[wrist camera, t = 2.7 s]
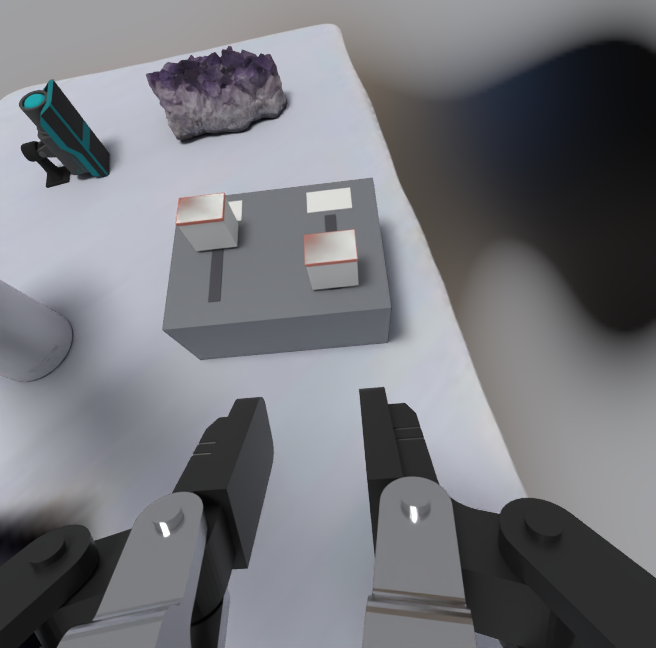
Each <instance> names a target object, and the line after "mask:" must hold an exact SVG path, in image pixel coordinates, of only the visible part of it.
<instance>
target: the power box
mask: <svg viewBox="0 0 656 648" xmlns="http://www.w3.org/2000/svg"><path fill="white" fill-rule="evenodd" d="M226 199H227V201H228V203H229V205H230V207H231V209H232V211H233V213H234V215H235V217H236V219H237V222H238V242H237V247H229V248H220V249H211V250H202V251H196V250H195V249H194V248H193V246H192V245H191V243H190V242H189V241H188V239H187V238H186V236H185V235H184V234H183V232H182V231H181V229H180V228H179V227H177V225H176V229H175V236H174V244H173V251H172V259H171V267H170V274H169V282H168V290H167V297H166V305H165V313H164V320H163V328H162V330H163V331H164V332H166V333H167V334H168V335H169V336H171V337H172V338H173V339H174V340H176V341H177V342H178V343H179V344H181V345H182V346H183V347H184V348H186V349H187V350H188V351H190V352H191V353H192V354H193V355H195V356H196V357H197V358H198V359H200V360H203V359H214V358H225V357H236V356H247V355H258V354H269V353H280V352H291V351H302V350H313V349H324V348H335V347H346V346H357V345H368V344H379V343H387V342H388V333H389V324H390V315H391V302H390V295H389V288H388V281H387V274H386V267H385V260H384V252H383V245H382V238H381V231H380V224H379V217H378V210H377V203H376V196H375V189H374V182H373V178H366V179H358V180H349V181H341V182H333V183H324V184H316V185H308V186H299V187H291V188H283V189H275V190H266V191H258V192H250V193H241V194H233V195H226ZM352 229H355V239H356V248H357V257H358V262H357V267H358V284H359V285H355V286H346V287H336V288H326V289H316V290H312V286H311V283H310V279H309V275H308V272H307V268H306V267H305V259H304V235H307V234H316V233H325V232H334V231H343V230H352Z"/></svg>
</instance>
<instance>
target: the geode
mask: <svg viewBox="0 0 656 648" xmlns="http://www.w3.org/2000/svg"><path fill="white" fill-rule="evenodd" d="M146 77H147V79H148V82H149V86H150V87H151V88H152V90H153V92H154V94H155V95H156V96H157V97H158V98H159V100H160V105H161V106H162V107H163V108H164V109H165V112H166V118H167V119H168V125H169V127H170V128H171V130H172V131H173V133H174V135H175V136H176V138H177V139H178V140H182V139H189V138H192V137H194V136H196V135H201V134H204V133H216V134H218V133H223V132H242V131H244V130H245V129H247V128H248V127H249V126H250V125H251V122H254V121H257V120H259V119H262V118H278V117H279V116H280V114H281V113H282V112H283V111H284V110H285V109H286V104H287V99H286V97H285V95H284V92H283V91H282V82H281V80H280V76H279V75H278V72H277V67H276V64H275V63H274V61H273V59H272V57H271V55H270V54H267V55H264V54H260V55H259V57H257V56H256V55H255V54H253V53H250V52H247V51H245V50H242V51H241V53H239V52H236V51H233V50H232V47H231V46H228V48H227V49H226V50H224V49H223V50H222V56H221V57H219V56H218V55H217V54H216V53H215V52H214V53H211V54H210V55H209V56H204V57H197V58H194V57H193V56H192V55H191V56H190V57H189V59H188V60H181V61H180V62H179V63H170V62H168V63H166V64H165V65H164V67H163V69H161V71H160V72H153V73H148V74H146Z"/></svg>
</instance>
